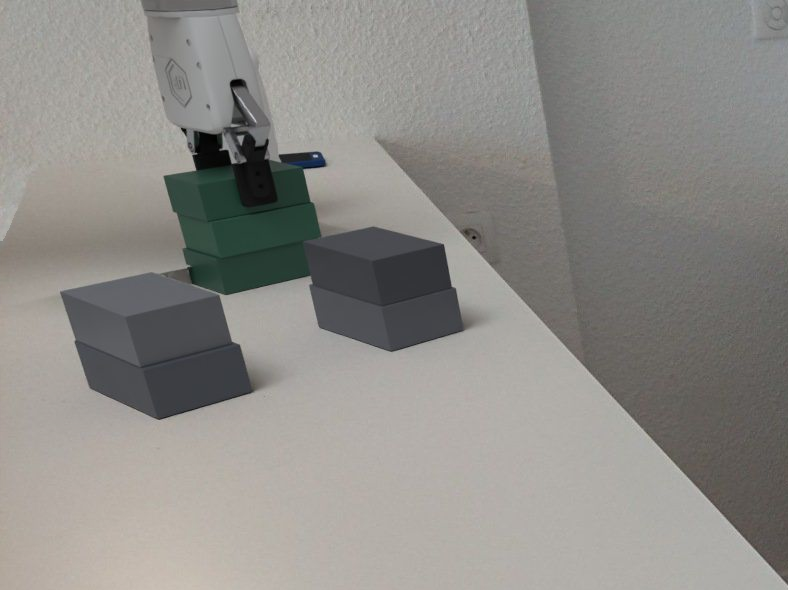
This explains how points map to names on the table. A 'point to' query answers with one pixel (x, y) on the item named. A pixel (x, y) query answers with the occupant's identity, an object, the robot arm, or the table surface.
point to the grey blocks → (210, 330)
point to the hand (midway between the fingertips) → (240, 197)
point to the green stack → (249, 248)
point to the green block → (231, 191)
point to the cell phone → (303, 159)
